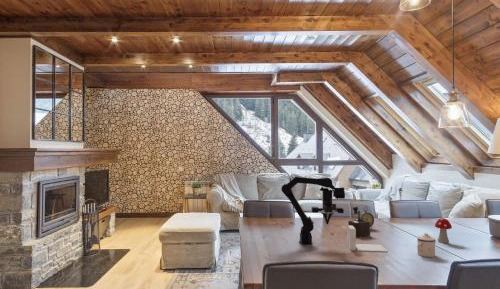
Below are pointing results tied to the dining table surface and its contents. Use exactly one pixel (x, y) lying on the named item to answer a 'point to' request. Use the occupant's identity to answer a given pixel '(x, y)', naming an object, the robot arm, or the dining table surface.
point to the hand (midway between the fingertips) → (327, 224)
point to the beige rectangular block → (351, 237)
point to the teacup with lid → (426, 245)
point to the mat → (370, 248)
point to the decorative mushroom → (443, 230)
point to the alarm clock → (367, 217)
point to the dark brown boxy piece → (360, 225)
